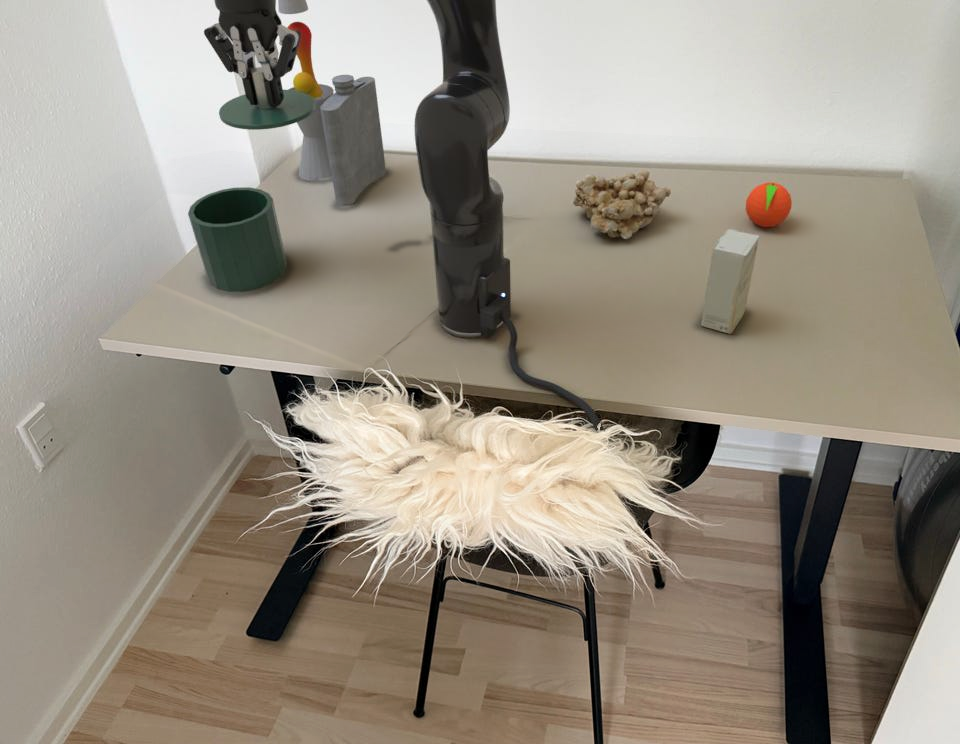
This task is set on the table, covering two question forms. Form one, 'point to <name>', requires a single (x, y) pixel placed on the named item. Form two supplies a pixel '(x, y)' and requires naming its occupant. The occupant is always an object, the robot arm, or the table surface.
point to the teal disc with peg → (266, 108)
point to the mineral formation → (620, 202)
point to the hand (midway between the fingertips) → (266, 103)
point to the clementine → (768, 204)
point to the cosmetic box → (729, 280)
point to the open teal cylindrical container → (238, 238)
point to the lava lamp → (312, 128)
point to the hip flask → (353, 136)
